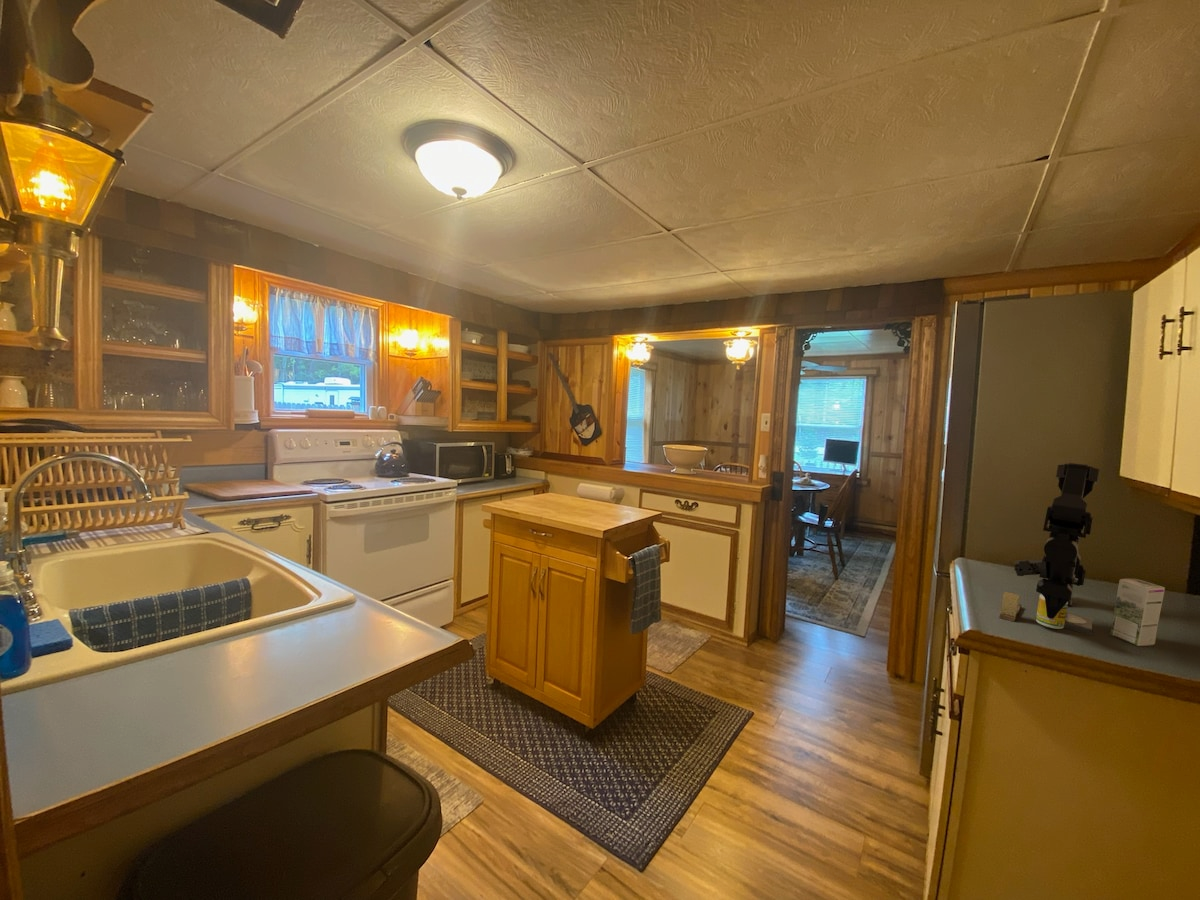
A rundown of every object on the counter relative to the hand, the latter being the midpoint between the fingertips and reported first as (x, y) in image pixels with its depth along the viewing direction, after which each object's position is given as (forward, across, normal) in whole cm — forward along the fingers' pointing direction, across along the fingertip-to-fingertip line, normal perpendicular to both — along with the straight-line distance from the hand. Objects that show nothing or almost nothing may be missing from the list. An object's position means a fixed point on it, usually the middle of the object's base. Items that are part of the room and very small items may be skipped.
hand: (1051, 614), depth 126 cm
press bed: (+4, -8, +3) cm, 9 cm away
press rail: (+3, -4, -8) cm, 10 cm away
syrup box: (+4, -8, +15) cm, 17 cm away
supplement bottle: (+3, 0, 0) cm, 3 cm away
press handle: (+2, +1, -8) cm, 8 cm away
